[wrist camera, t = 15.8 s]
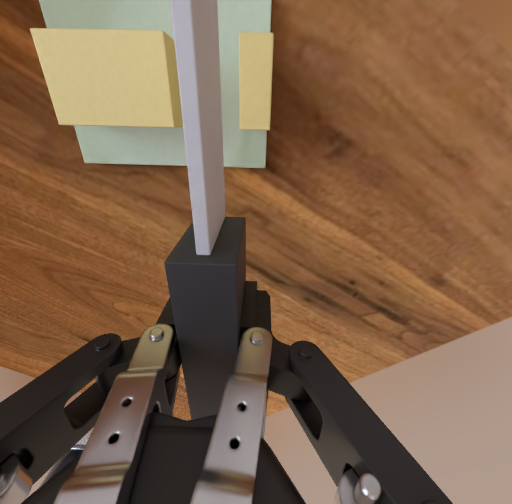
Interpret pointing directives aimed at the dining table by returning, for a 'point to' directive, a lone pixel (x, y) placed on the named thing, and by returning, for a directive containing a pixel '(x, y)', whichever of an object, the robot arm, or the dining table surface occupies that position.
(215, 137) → the knife
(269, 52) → the butter slice
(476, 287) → the dining table surface
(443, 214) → the dining table surface
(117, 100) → the butter block
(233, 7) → the butter board
